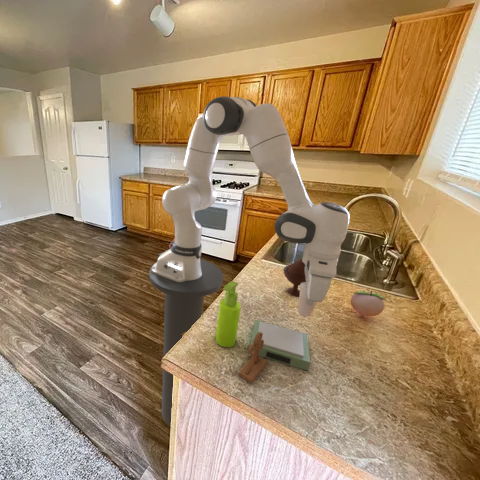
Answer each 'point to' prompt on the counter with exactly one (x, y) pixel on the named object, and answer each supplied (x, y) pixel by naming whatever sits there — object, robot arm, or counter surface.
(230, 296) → the soap dispenser
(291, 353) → the scale
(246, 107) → the robot arm
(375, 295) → the decorative fruit
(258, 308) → the counter surface
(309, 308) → the smoothie
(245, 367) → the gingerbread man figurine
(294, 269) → the ice cream bowl
